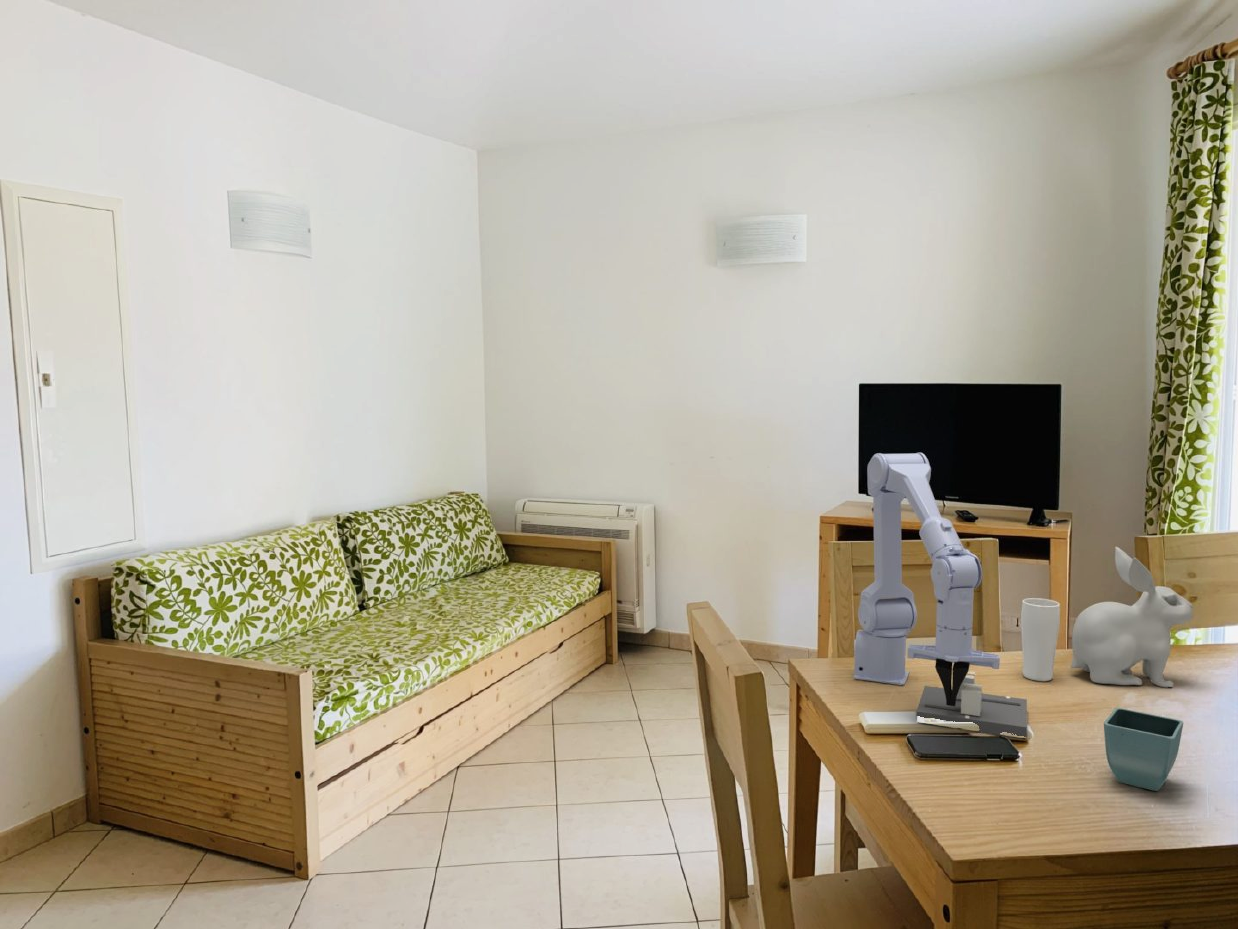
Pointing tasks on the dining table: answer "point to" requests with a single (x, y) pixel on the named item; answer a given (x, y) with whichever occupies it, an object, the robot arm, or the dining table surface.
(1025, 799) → the dining table surface
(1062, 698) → the dining table surface
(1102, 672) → the rabbit
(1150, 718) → the flower pot
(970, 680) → the far fader knob
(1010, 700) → the panel
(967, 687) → the near fader knob
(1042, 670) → the drinking glass
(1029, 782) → the dining table surface
